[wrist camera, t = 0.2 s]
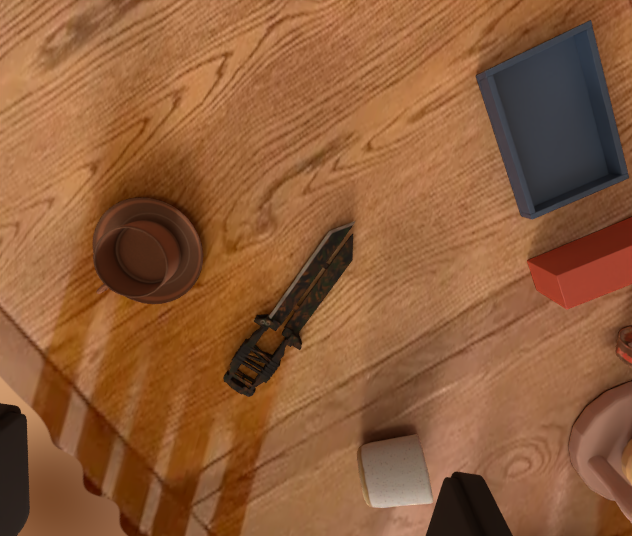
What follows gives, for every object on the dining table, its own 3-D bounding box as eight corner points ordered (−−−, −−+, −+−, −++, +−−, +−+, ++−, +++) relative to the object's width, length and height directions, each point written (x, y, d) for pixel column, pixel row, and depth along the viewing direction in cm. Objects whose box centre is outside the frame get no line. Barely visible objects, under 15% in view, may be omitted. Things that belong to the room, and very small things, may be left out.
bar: (526, 260, 46) (556, 276, 40) (632, 216, 44) (678, 226, 38) (536, 290, 47) (567, 309, 41) (640, 248, 45) (686, 262, 39)
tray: (475, 75, 40) (484, 71, 38) (575, 27, 39) (591, 19, 37) (521, 216, 44) (532, 219, 42) (613, 176, 43) (629, 178, 41)
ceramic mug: (352, 433, 52) (357, 480, 45) (414, 420, 52) (430, 466, 44) (368, 495, 55) (376, 549, 48) (427, 484, 55) (444, 537, 47)
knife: (344, 212, 44) (345, 214, 43) (387, 248, 46) (389, 251, 44) (211, 367, 50) (208, 373, 49) (253, 397, 51) (251, 403, 50)
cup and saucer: (178, 315, 48) (158, 339, 42) (85, 264, 46) (51, 281, 40) (225, 232, 45) (211, 244, 39) (128, 174, 43) (98, 178, 37)
